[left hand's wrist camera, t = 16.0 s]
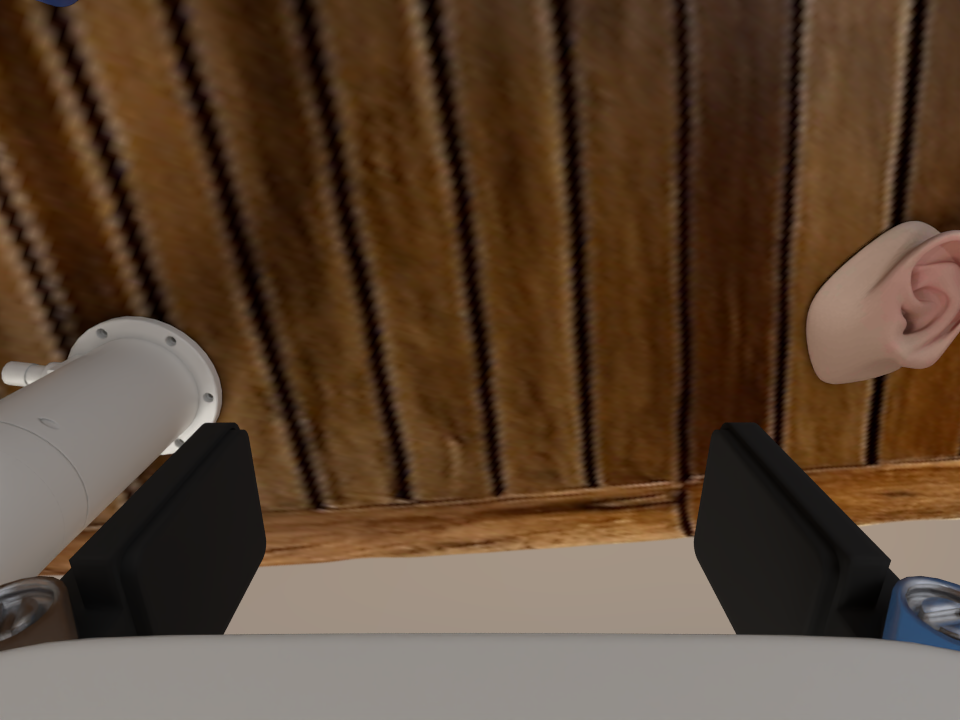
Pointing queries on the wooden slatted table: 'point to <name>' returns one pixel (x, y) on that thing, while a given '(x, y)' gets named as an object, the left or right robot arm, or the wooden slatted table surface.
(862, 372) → the anatomical model
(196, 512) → the left robot arm
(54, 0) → the canister
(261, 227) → the wooden slatted table surface
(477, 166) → the wooden slatted table surface
